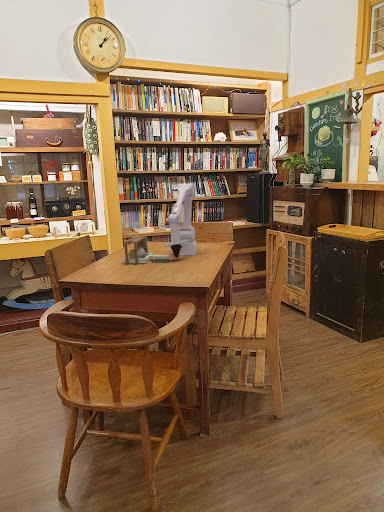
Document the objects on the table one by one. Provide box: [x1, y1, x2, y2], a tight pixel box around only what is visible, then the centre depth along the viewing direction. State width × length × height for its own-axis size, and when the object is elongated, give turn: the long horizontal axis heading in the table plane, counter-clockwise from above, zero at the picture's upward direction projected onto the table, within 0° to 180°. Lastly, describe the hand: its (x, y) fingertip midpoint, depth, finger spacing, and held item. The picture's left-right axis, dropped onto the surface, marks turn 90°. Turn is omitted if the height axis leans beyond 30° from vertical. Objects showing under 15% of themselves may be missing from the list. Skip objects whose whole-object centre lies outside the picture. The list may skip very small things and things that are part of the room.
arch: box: [123, 234, 149, 266], centre depth 219 cm, size 7×22×14 cm, turn 170°
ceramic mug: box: [128, 247, 146, 258], centre depth 219 cm, size 11×8×8 cm
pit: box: [151, 259, 172, 264], centre depth 217 cm, size 10×12×1 cm
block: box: [121, 251, 175, 264], centre depth 218 cm, size 28×17×4 cm, turn 80°
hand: (176, 257), depth 215 cm, fingers closed
